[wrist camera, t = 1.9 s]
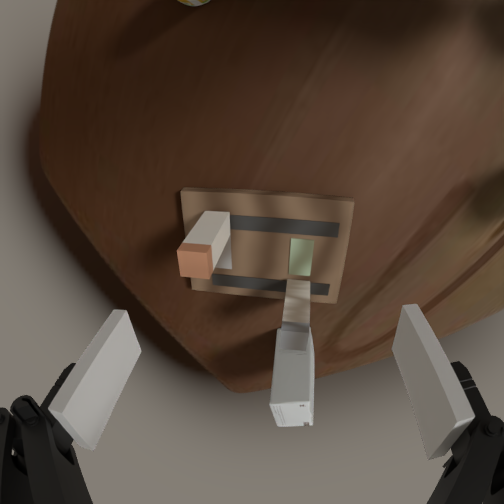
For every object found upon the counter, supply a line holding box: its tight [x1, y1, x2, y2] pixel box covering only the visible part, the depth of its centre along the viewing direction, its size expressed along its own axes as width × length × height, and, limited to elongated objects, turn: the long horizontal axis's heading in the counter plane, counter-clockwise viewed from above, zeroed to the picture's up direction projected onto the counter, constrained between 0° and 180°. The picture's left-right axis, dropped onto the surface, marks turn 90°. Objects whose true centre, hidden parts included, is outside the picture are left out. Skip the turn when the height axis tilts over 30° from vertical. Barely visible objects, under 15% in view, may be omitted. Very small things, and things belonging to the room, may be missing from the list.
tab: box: [177, 211, 230, 279], centre depth 35 cm, size 3×3×10 cm
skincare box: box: [269, 327, 314, 427], centre depth 45 cm, size 8×6×15 cm
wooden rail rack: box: [180, 187, 354, 351], centre depth 37 cm, size 22×16×12 cm
